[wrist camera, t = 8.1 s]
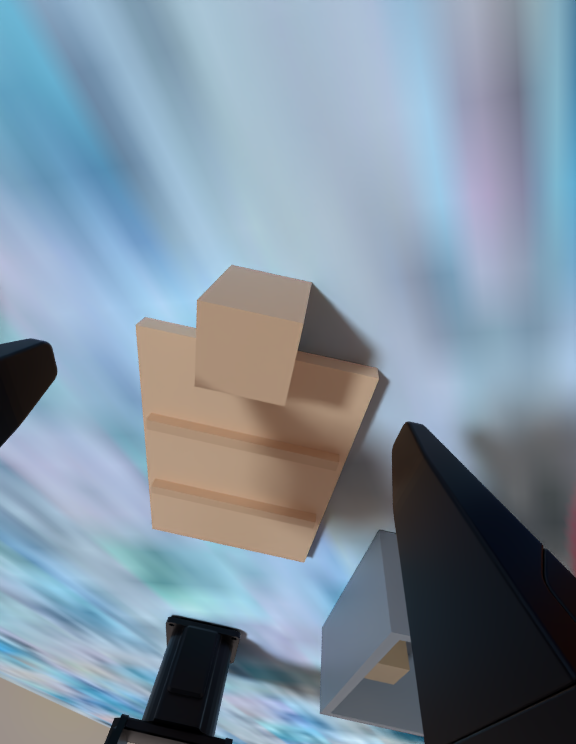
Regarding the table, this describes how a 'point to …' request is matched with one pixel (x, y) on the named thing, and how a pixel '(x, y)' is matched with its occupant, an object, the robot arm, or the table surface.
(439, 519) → the robot arm
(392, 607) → the tub
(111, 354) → the table surface
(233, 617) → the table surface
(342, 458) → the lid
